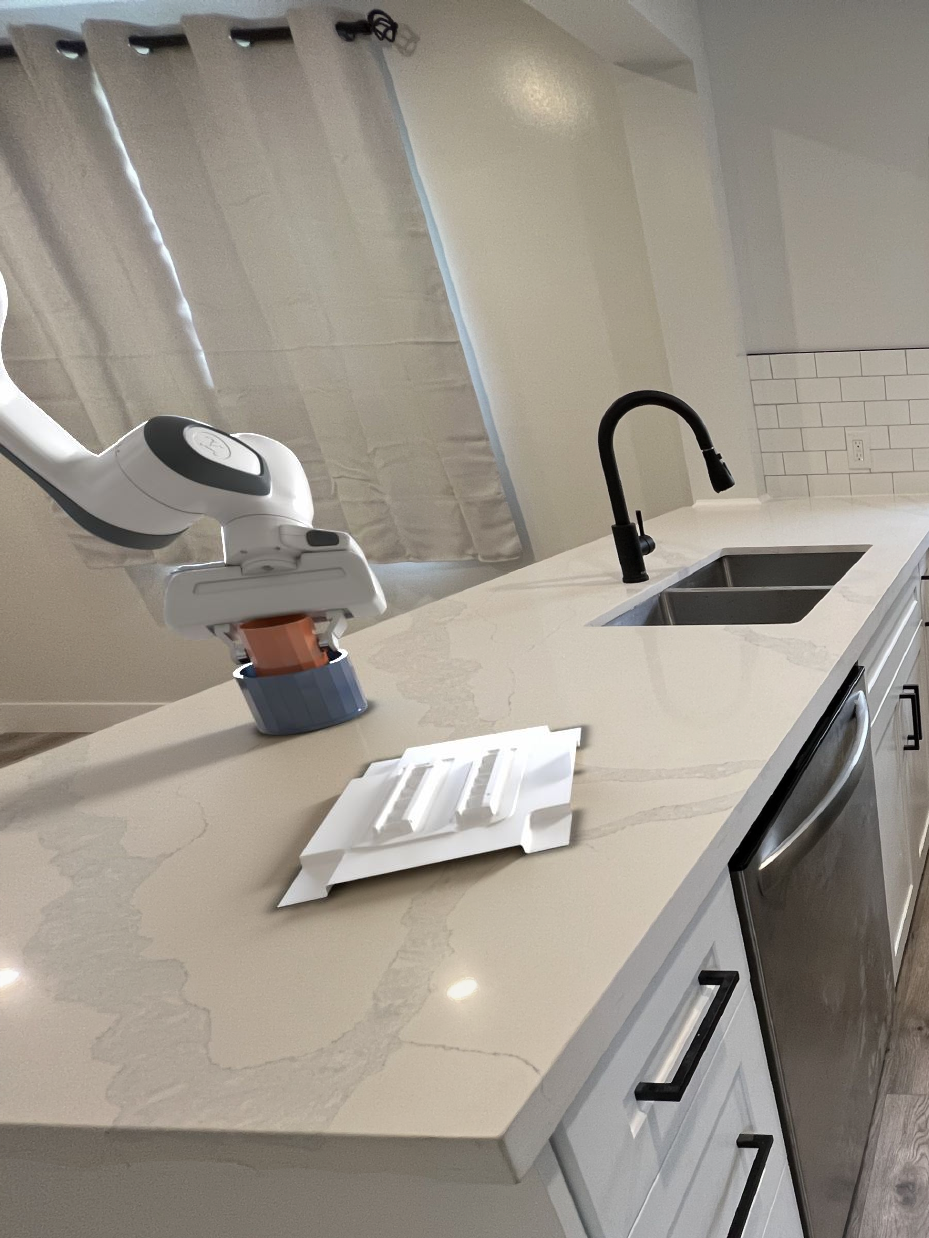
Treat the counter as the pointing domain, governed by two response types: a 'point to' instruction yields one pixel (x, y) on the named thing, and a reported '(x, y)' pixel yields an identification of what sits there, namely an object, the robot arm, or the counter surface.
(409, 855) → the tray
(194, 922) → the counter surface
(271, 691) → the stack cup
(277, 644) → the terracotta cup
